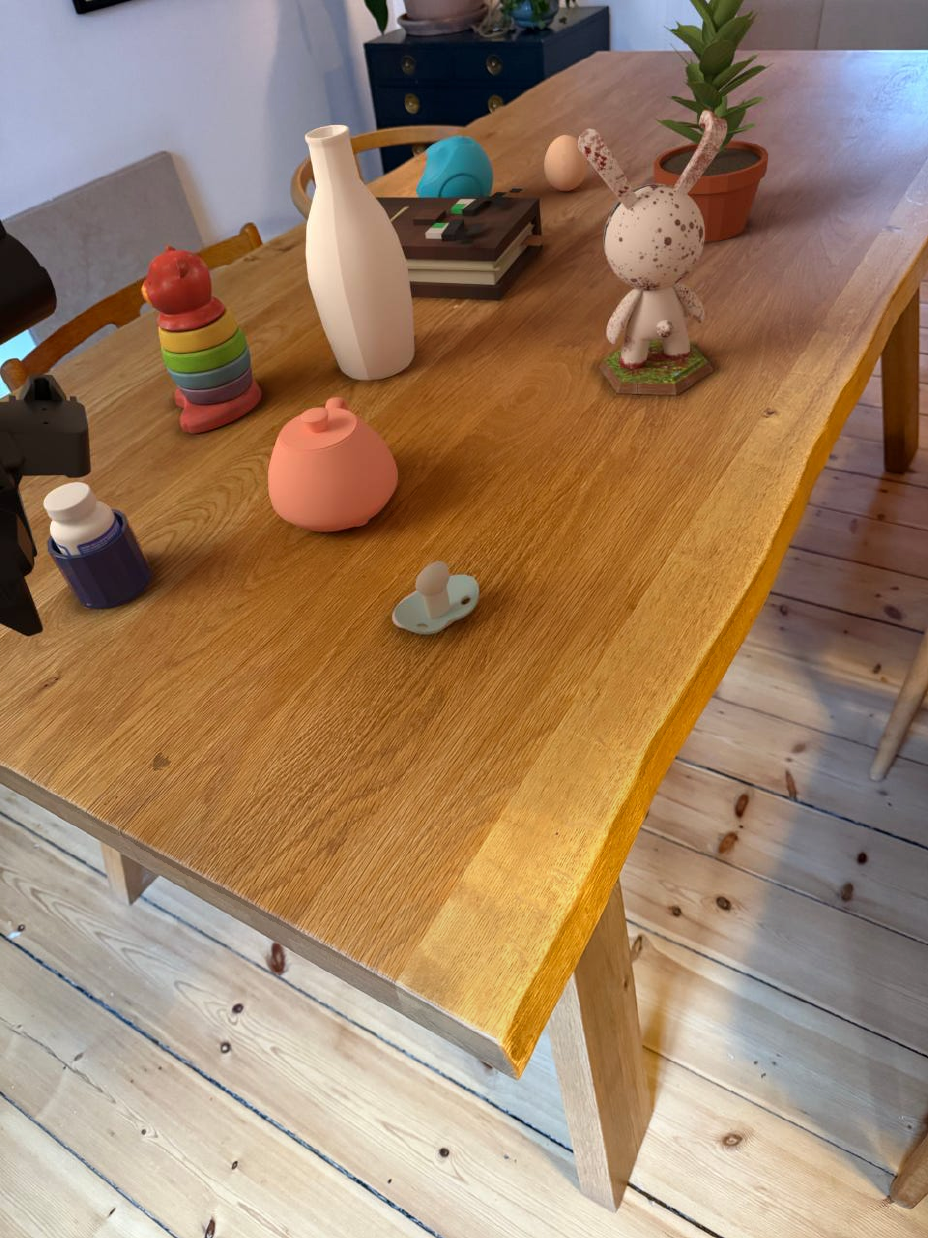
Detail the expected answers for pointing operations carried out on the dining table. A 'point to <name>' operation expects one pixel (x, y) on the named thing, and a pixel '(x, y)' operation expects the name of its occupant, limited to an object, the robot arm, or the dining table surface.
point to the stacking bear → (199, 343)
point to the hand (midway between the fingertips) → (33, 593)
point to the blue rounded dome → (456, 170)
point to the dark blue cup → (106, 569)
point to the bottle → (356, 265)
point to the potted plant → (736, 163)
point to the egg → (565, 163)
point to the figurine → (654, 269)
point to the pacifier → (436, 600)
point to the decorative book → (466, 242)
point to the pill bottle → (79, 519)
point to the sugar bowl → (330, 470)
